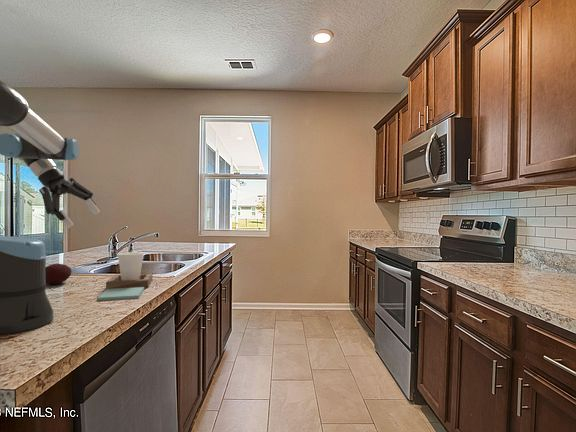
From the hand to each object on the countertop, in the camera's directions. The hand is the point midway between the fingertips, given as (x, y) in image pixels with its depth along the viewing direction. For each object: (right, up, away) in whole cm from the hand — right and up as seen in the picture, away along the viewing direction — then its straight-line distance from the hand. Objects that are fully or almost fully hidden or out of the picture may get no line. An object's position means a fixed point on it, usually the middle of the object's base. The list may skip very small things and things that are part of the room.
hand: (85, 219), depth 125 cm
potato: (-19, -27, +11) cm, 35 cm away
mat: (+18, -27, -7) cm, 33 cm away
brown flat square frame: (+13, -27, +10) cm, 31 cm away
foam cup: (+13, -27, +10) cm, 32 cm away
